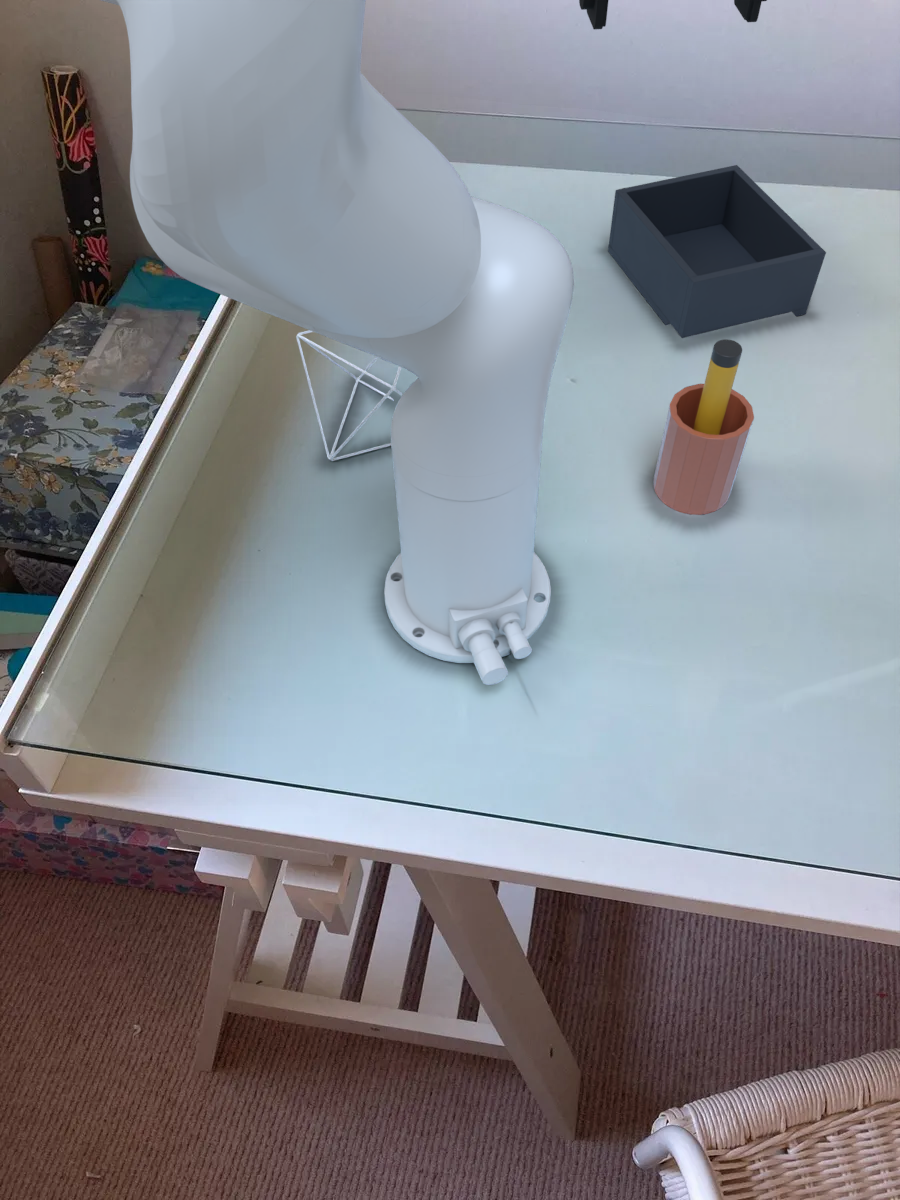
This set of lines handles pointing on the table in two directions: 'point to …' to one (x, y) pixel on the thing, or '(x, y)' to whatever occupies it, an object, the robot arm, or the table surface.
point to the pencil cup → (700, 454)
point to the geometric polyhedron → (393, 388)
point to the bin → (712, 251)
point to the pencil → (718, 386)
